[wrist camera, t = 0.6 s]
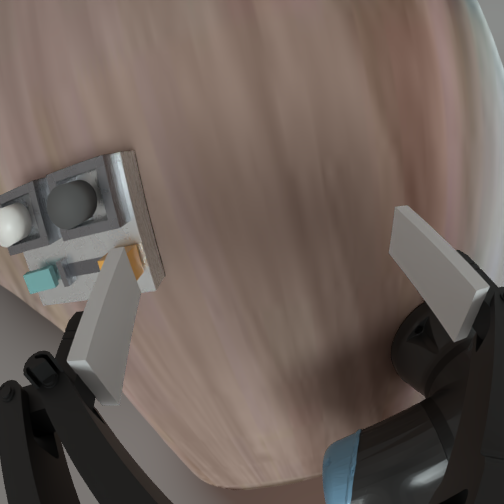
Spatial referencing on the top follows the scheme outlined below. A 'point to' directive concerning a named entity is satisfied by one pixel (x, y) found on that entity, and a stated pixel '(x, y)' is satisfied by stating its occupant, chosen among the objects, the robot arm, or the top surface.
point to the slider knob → (130, 260)
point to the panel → (88, 227)
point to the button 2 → (71, 204)
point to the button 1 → (14, 224)
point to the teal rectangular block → (41, 279)
